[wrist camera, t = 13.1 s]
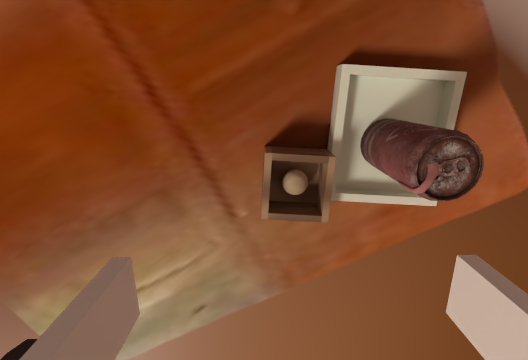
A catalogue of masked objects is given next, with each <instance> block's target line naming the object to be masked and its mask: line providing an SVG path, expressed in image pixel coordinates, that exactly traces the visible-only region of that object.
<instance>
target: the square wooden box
mask: <svg viewBox="0 0 528 360" xmlns="http://www.w3.org/2000/svg"><path fill="white" fill-rule="evenodd" d="M335 164H336V156H335V155H333V154H332V153H331V152H330V151H329V150H328V149H317V148H299V147H282V146H265V151H264V168H263V184H262V201H261V219H269V220H288V221H306V222H325V223H328V218H329V211H330V203H331V195H332V187H333V179H334V171H335ZM293 169H298V170H301V171H302V172H304V173H305V174H306V176H307V178H308V186H307V188H306V190H305V191H304V192H303V193H301V194H299V195H292V194H289V193H288V192H286V191H285V189H284V188H283V185H282V180H283V177H284V175H285V174H286V173H287V172H288V171H290V170H293Z"/></svg>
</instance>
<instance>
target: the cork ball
mask: <svg viewBox="0 0 528 360" xmlns="http://www.w3.org/2000/svg"><path fill="white" fill-rule="evenodd" d="M282 185H283V188H284V189H285V191H286V192H288V193H289V194H292V195H299V194H301V193H303V192H304V191H305V190H306V188H307V186H308V178H307V176H306V174H305V173H304V172H302V171H301V170H298V169H293V170H290V171H288V172H287V173H286V174H285V175H284V177H283V180H282Z"/></svg>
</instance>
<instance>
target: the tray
mask: <svg viewBox="0 0 528 360" xmlns="http://www.w3.org/2000/svg"><path fill="white" fill-rule="evenodd" d="M466 75H467V72H460V71H445V70H429V69H413V68H398V67H382V66H366V65H351V64H341V65H339V66H337V70H336V79H335V87H334V96H333V104H332V113H331V121H330V129H329V138H328V146H327V149H328V150H329V151H330V152H331V153H332V154H333V155H335V156H336V164H335V171H334V179H333V187H332V195H331V200H333V201H352V202H370V203H388V204H406V205H424V206H436V204H437V201H430V200H428V199H425V198H422V197H420V196H419V195H417V194H414V193H412V192H410V191H408V190H406V189H404V188H403V187H402V186H401V185H400V184H399V183H398V182H397V181H395V180H394V179H392V178H391V177H389V176H388V175H386V174H385V173H383V172H381V171H380V170H378V169H377V168H375V167H374V166H372V165H371V164H369V163H368V162H367V161H366V160H365V159H364V157H363V155H362V153H361V148H360V144H361V138H362V136H363V134H364V131H365V130H366V129H367V128H368V127H369V126H370V125H371V124H372V123H374V122H376V121H377V120H381V119H385V118H387V119H397V120H402V121H408V122H413V123H418V124H424V125H429V126H435V127H440V128H445V129H451V130H454V127H455V122H456V118H457V114H458V109H459V105H460V101H461V96H462V92H463V88H464V83H465V79H466Z"/></svg>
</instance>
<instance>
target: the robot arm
mask: <svg viewBox="0 0 528 360" xmlns="http://www.w3.org/2000/svg"><path fill="white" fill-rule="evenodd" d="M446 313H447V314H448V315H449V317H450V318H451V319H452V320H453V321H454V323H455V324H456V325H457V326H458V327H459V329H460V330H461V331H462V332H463V333H464V335H465V336H466V337H467V338H468V340H469V341H470V342H471V343H472V344H473V346H474V347H475V348H476V349H477V350H478V352H479V353H480V354H481V355H482V356H483V358H484V359H485V360H528V294H526V293H525V292H524V291H522V290H521V289H519V287H517V286H516V285H515V284H513V283H512V282H511V281H509V280H508V279H507V278H506V277H504V276H503V275H502V274H500V273H499V272H498V271H496V270H495V269H494V268H492V267H491V266H490V265H488V264H487V263H486V262H485V261H483V260H482V259H481V258H480V257H478V256H477V255H457V259H456V264H455V270H454V274H453V279H452V284H451V289H450V294H449V299H448V304H447V309H446ZM139 315H140V312H139V306H138V299H137V292H136V286H135V279H134V272H133V265H132V259H131V257H112V258H111V259H110V260H109V262H108V263H107V264H106V265H105V266H104V267H103V268H102V269H101V270H100V271H99V273H98V274H97V275H96V276H95V277H94V278H93V279H92V280H91V281H90V282H89V284H88V285H87V286H86V287H85V288H84V289H83V290H82V291H81V292H80V293H79V295H78V296H77V297H76V298H75V299H74V300H73V301H72V302H71V303H70V304H69V306H68V307H67V308H66V309H65V310H64V311H63V312H62V313H61V314H60V315H59V317H58V318H57V319H56V320H55V321H54V322H53V323H52V324H51V325H50V326H49V328H48V329H47V330H46V331H45V332H44V333H43V334H42V335H41V336H40V338H39V339H27V340H25V341H24V342H22V343H21V344H20V345H18V346H17V347H16V348H14V349H12V350H11V351H10V352H8V353H7V354H6V355H5V356H4V357H3V358H2V359H1V360H115V358H116V356H117V354H118V353H119V351H120V349H121V347H122V345H123V344H124V342H125V340H126V338H127V336H128V335H129V333H130V331H131V329H132V327H133V326H134V324H135V322H136V320H137V318H138V317H139Z"/></svg>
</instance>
